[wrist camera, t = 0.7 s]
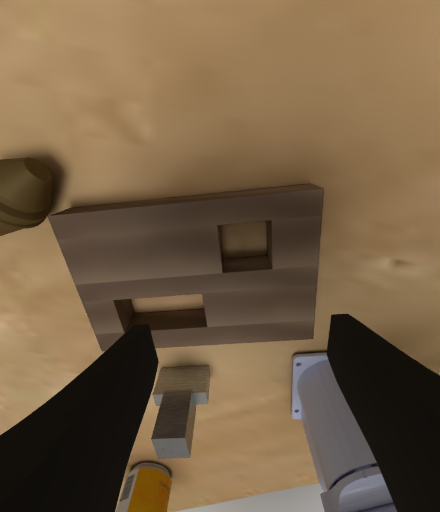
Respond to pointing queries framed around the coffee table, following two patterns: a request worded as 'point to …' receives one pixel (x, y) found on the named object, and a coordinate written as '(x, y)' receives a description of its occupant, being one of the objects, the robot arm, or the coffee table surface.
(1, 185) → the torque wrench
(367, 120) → the coffee table surface
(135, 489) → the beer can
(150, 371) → the robot arm
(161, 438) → the gray t-shaped block
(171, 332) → the stand
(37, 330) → the coffee table surface
